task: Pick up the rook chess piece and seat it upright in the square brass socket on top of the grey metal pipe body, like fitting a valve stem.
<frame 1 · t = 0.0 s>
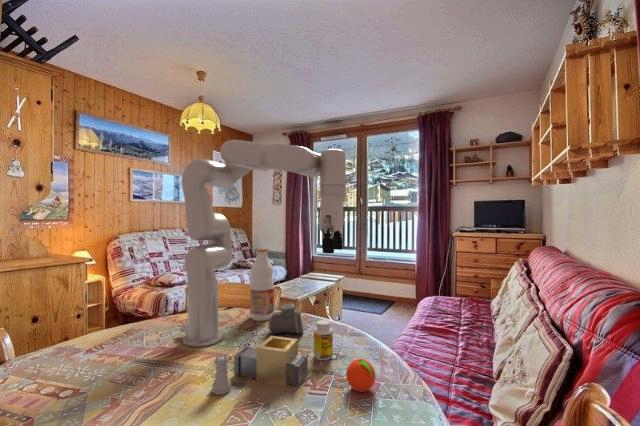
hand: (332, 251, 91), 31 cm above the table, fingers open, 9 cm apart
pipe fitting: (286, 333, 111), on the table
clementine: (362, 391, 74), on the table
valve body: (271, 374, 81), on the table
rook chess piece: (221, 391, 74), on the table
supplement bottle: (323, 357, 92), on the table
fruit juice: (262, 317, 127), on the table
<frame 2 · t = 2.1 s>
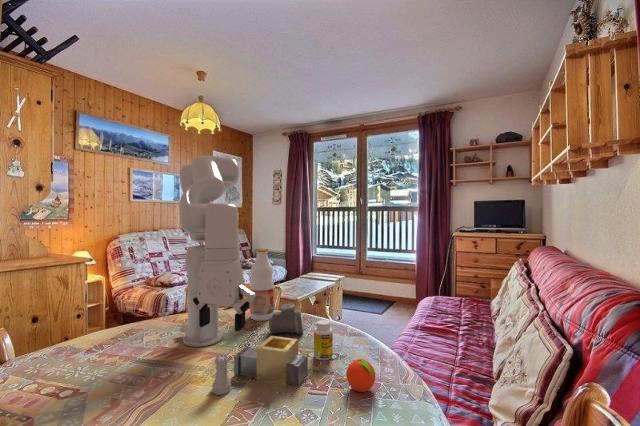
hand: (221, 327, 74), 15 cm above the table, fingers open, 9 cm apart
nothing on the table moved.
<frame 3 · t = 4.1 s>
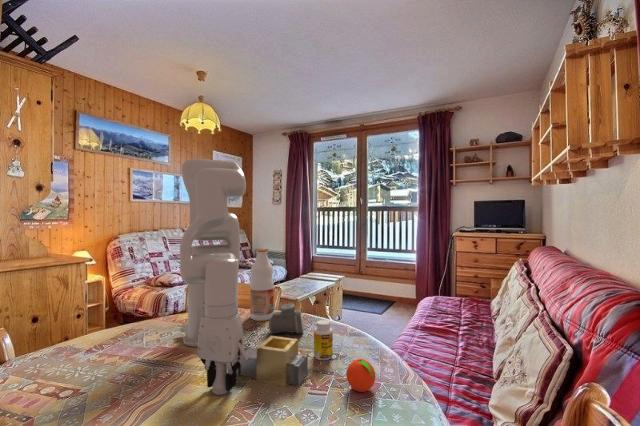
hand: (221, 385, 74), 1 cm above the table, fingers closed on rook chess piece, 4 cm apart
rook chess piece: (221, 391, 74), on the table, touching gripper
everything else where it was.
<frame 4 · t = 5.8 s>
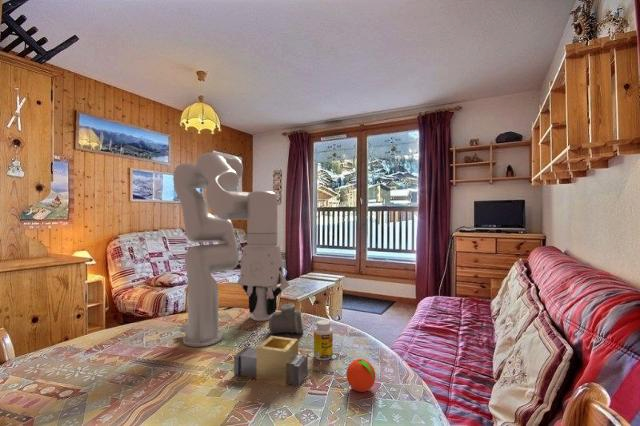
hand: (262, 311, 79), 17 cm above the table, fingers closed on rook chess piece, 4 cm apart
rook chess piece: (262, 317, 79), point 16 cm above the table, touching gripper
everything else where it was.
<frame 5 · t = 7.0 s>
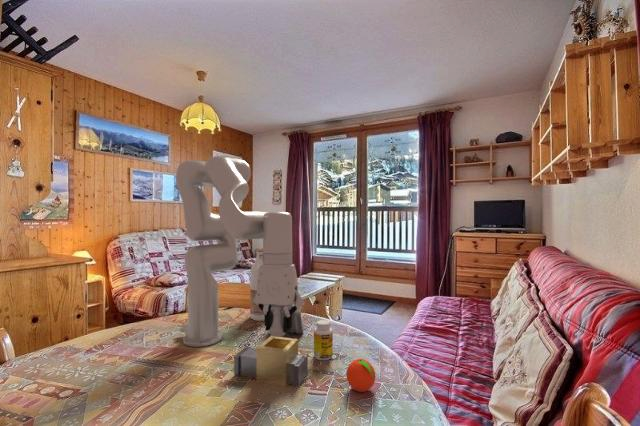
hand: (278, 329, 81), 12 cm above the table, fingers closed on rook chess piece, 4 cm apart
rook chess piece: (278, 334, 81), point 11 cm above the table, touching gripper
everything else where it was.
when the fingers open (9 cm above the table, at t = 7.9 s): rook chess piece drops 2 cm, resting on valve body.
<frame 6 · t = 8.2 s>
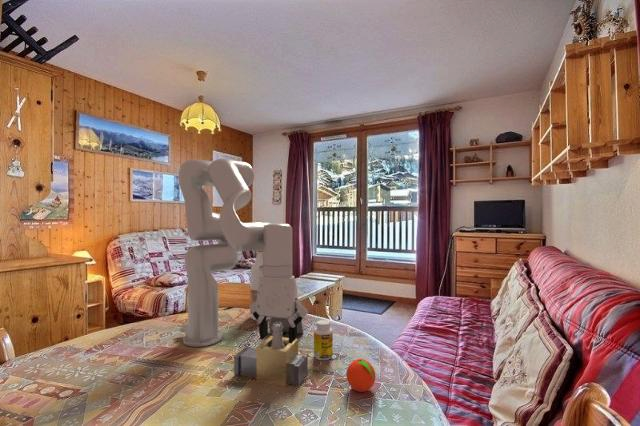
hand: (277, 338, 81), 10 cm above the table, fingers open, 7 cm apart
rook chess piece: (277, 355, 81), point 5 cm above the table, touching valve body
everything else where it was.
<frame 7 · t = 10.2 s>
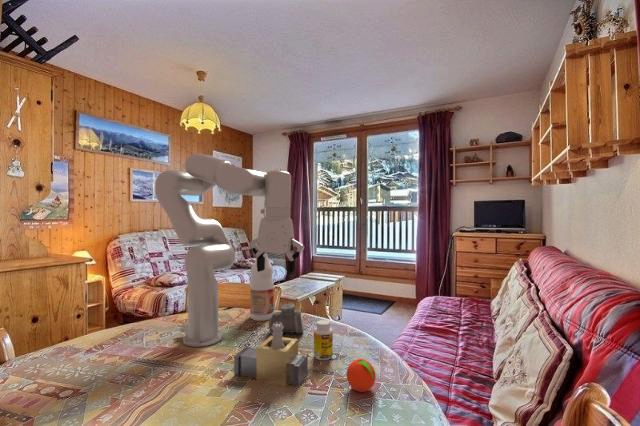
hand: (275, 272, 91), 25 cm above the table, fingers open, 9 cm apart
nothing on the table moved.
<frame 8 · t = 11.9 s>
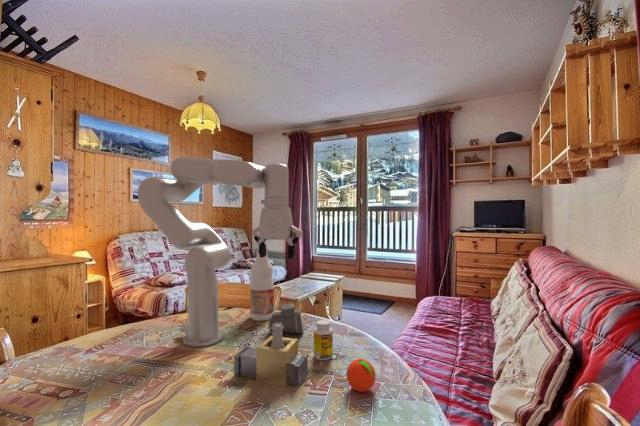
hand: (276, 257, 99), 28 cm above the table, fingers open, 9 cm apart
nothing on the table moved.
at the end: rook chess piece 0.1 cm from the target spot on the valve body, point 5.3 cm above the valve body's base; rook chess piece tilted 0°; the gripper is holding nothing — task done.
